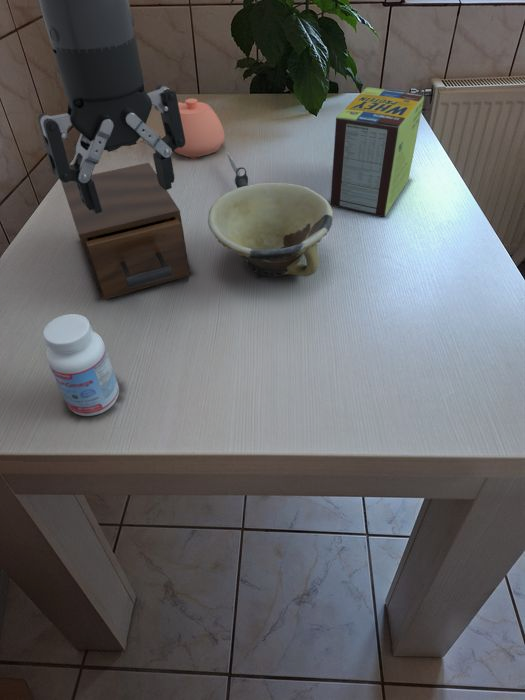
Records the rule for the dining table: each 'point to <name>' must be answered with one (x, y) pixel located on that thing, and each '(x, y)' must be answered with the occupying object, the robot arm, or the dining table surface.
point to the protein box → (374, 149)
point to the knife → (238, 174)
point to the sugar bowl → (199, 129)
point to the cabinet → (121, 205)
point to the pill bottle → (80, 365)
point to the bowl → (272, 226)
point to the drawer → (138, 257)
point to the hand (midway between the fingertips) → (131, 198)
